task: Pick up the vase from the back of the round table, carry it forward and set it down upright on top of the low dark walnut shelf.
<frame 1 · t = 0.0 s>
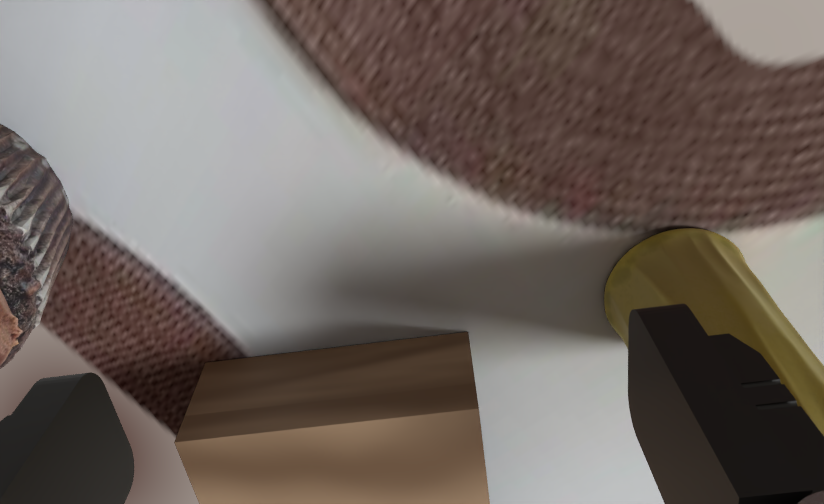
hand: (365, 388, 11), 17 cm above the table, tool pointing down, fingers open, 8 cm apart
vase: (671, 285, 30), on the table
walnut shelf: (365, 473, 35), on the table
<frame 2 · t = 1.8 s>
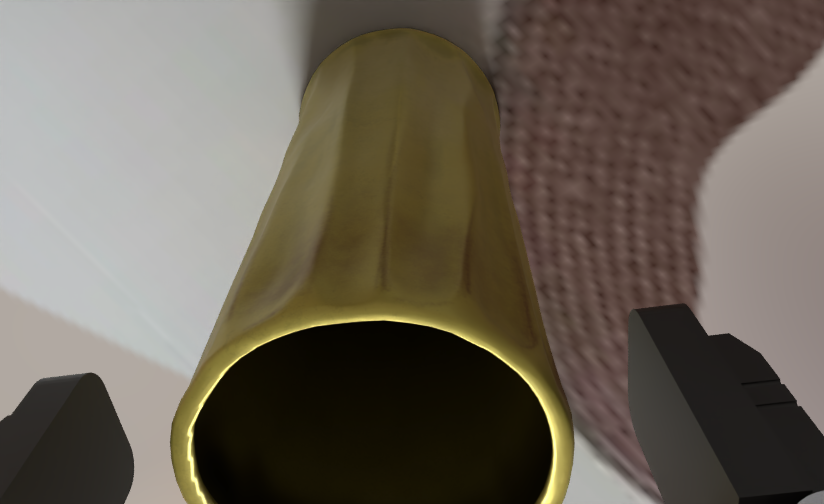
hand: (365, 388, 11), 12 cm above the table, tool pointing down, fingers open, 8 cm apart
vase: (399, 126, 22), on the table
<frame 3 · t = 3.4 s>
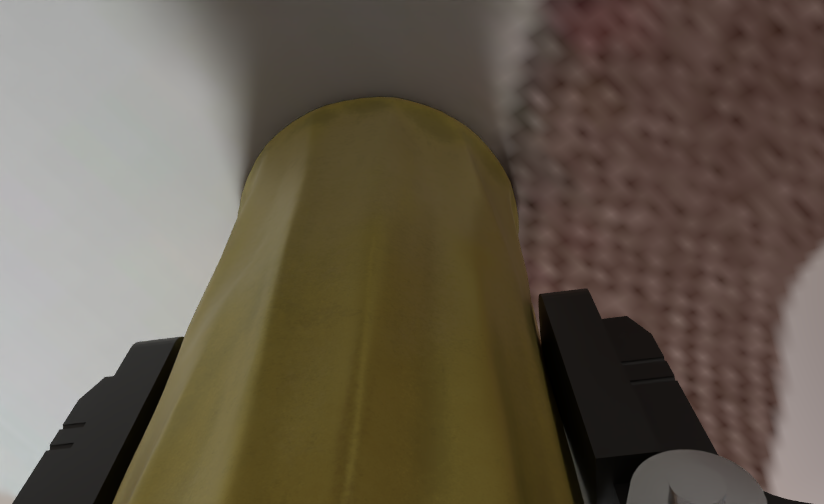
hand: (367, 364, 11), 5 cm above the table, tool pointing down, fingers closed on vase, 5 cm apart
vase: (379, 224, 16), on the table, touching gripper
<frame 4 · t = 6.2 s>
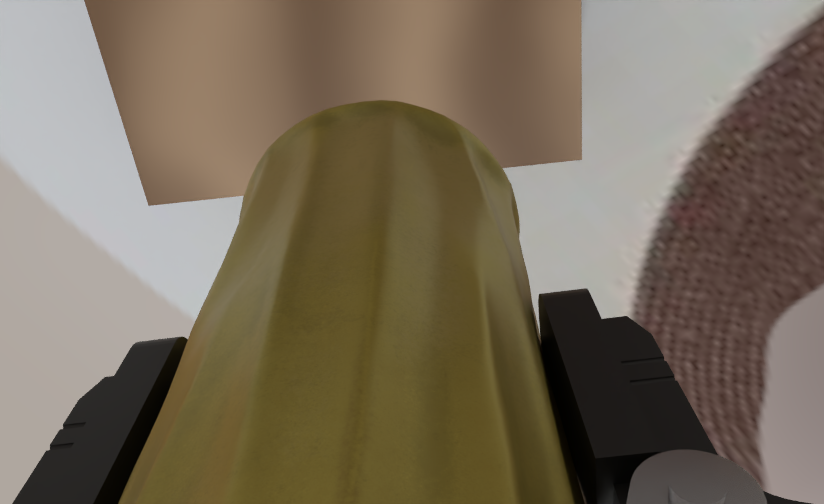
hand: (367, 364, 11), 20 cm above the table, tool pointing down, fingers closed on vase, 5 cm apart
vase: (381, 227, 16), point 15 cm above the table, touching gripper
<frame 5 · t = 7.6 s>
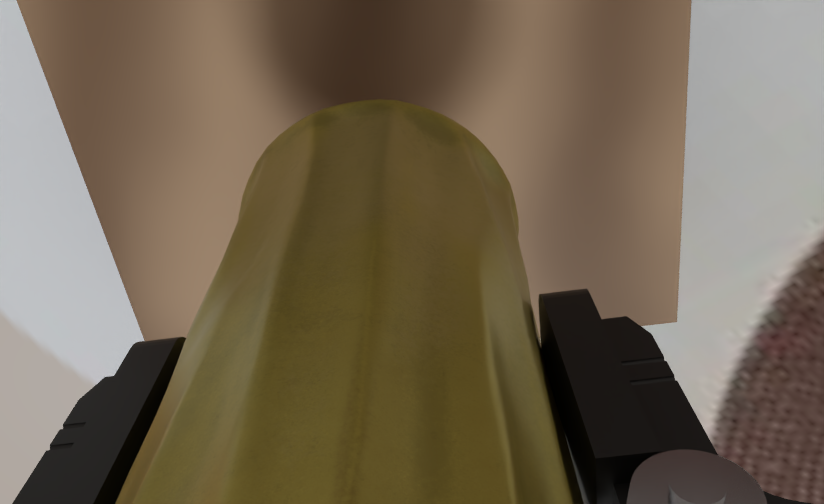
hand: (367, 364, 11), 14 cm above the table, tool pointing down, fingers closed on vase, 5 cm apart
vase: (380, 226, 16), point 8 cm above the table, touching gripper
walnut shelf: (387, 116, 23), on the table
when the fingers open (11 cm above the table, at t = 8.9 s): vase drops 1 cm, resting on walnut shelf.
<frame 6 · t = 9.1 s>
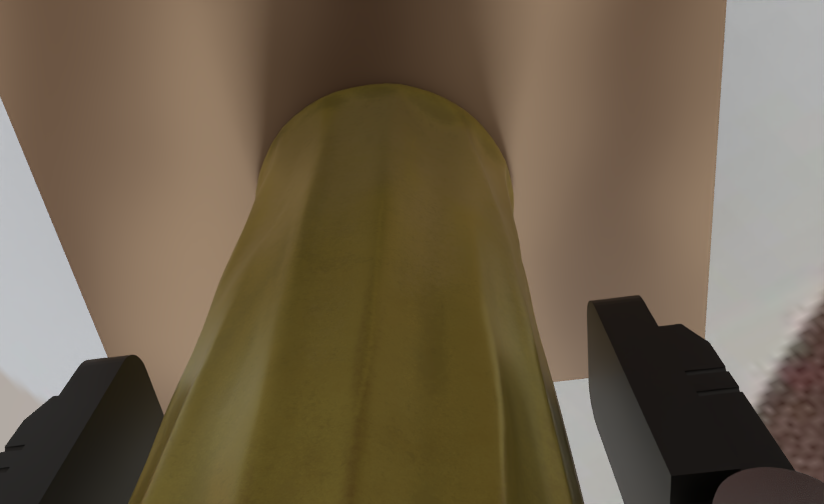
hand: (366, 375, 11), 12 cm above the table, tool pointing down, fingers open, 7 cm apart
vase: (386, 202, 17), point 5 cm above the table, touching walnut shelf
walnut shelf: (385, 137, 21), on the table
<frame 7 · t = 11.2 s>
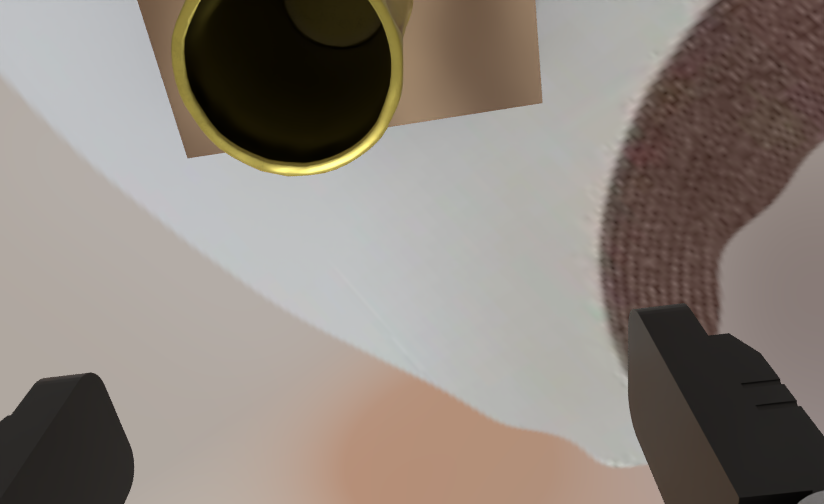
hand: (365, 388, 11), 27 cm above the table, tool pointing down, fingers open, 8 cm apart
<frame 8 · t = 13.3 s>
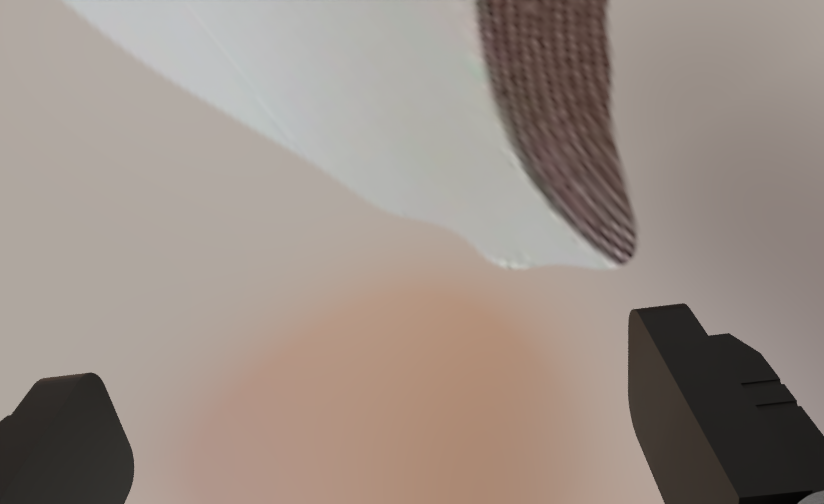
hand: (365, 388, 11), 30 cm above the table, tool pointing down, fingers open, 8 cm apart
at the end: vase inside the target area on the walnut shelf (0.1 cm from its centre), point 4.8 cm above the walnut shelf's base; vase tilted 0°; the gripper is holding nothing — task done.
